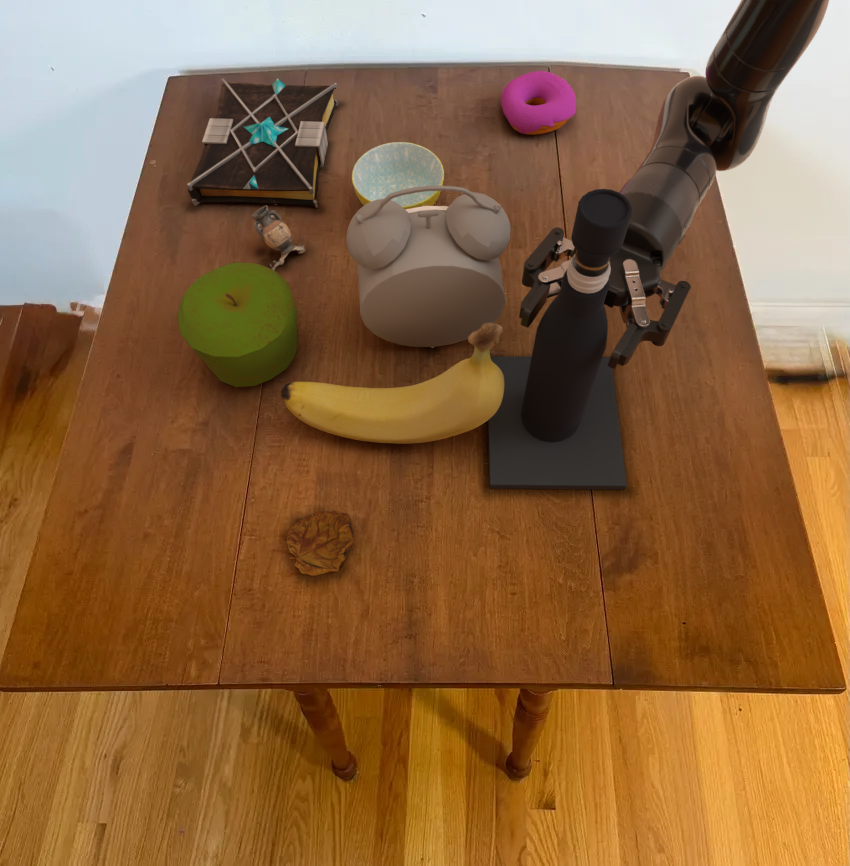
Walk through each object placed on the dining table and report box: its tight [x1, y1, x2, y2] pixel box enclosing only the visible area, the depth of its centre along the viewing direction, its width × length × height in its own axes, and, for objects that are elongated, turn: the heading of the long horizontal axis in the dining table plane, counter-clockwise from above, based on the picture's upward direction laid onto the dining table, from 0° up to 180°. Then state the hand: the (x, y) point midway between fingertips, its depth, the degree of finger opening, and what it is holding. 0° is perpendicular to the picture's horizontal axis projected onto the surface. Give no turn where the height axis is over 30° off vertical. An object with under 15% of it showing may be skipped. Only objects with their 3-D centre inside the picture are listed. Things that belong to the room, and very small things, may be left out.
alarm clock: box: [345, 185, 512, 349], centre depth 75 cm, size 16×9×22 cm, turn 94°
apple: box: [177, 261, 299, 388], centre depth 78 cm, size 12×12×11 cm
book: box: [186, 77, 339, 209], centre depth 98 cm, size 22×17×5 cm
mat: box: [487, 356, 628, 491], centre depth 78 cm, size 14×16×1 cm
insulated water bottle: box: [521, 188, 632, 442], centre depth 64 cm, size 6×6×30 cm
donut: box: [500, 70, 577, 136], centre depth 100 cm, size 10×10×5 cm
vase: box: [251, 205, 307, 270], centre depth 88 cm, size 5×5×6 cm
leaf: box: [285, 509, 355, 577], centre depth 71 cm, size 6×7×2 cm
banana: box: [280, 322, 504, 445], centre depth 69 cm, size 23×6×20 cm, turn 84°
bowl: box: [351, 141, 445, 210], centre depth 91 cm, size 11×12×6 cm
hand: (568, 341), depth 62 cm, fingers open, 8 cm apart
